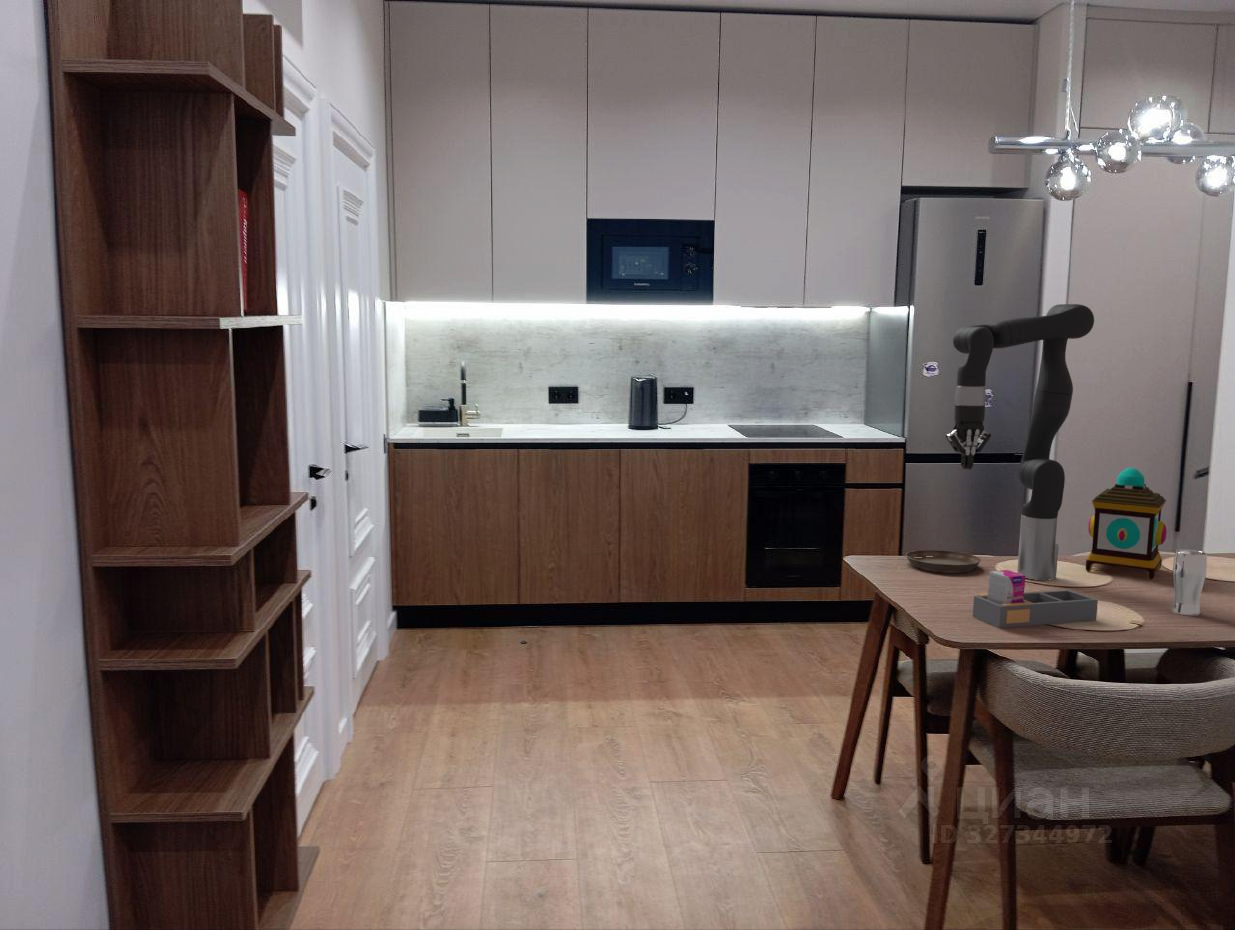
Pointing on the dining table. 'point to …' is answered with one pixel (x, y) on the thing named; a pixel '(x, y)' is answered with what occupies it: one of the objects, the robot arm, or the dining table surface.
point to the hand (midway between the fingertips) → (966, 468)
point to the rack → (1037, 609)
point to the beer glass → (1188, 581)
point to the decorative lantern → (1127, 525)
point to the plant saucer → (943, 561)
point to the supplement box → (1006, 587)
